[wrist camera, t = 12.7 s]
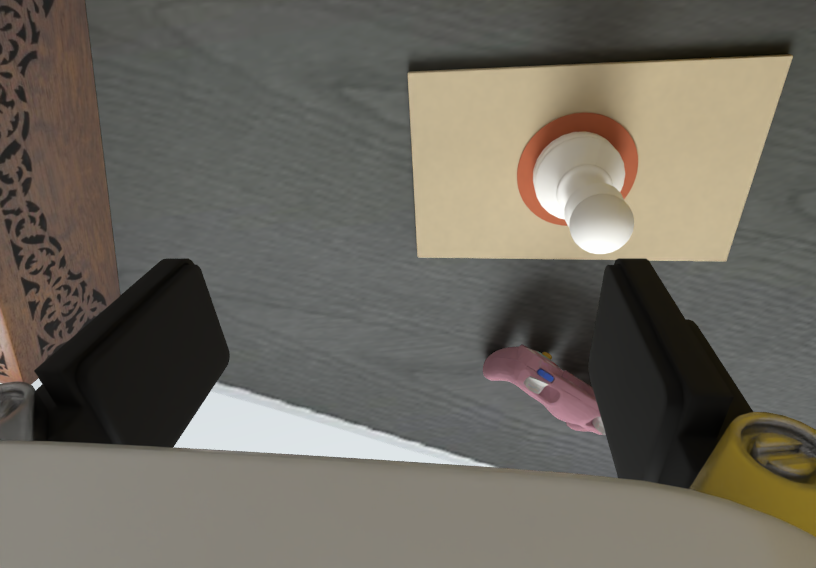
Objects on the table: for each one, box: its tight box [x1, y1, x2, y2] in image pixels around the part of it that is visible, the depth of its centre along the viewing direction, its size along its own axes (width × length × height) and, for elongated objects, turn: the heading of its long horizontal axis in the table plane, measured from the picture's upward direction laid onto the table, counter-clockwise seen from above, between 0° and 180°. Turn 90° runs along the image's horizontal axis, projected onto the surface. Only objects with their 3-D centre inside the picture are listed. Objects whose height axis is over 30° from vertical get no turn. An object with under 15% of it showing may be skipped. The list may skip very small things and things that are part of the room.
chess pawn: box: [533, 131, 634, 254], centre depth 25 cm, size 5×5×9 cm
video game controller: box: [483, 344, 606, 435], centre depth 35 cm, size 10×5×7 cm, turn 58°
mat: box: [408, 54, 793, 261], centre depth 29 cm, size 12×20×1 cm, turn 93°
